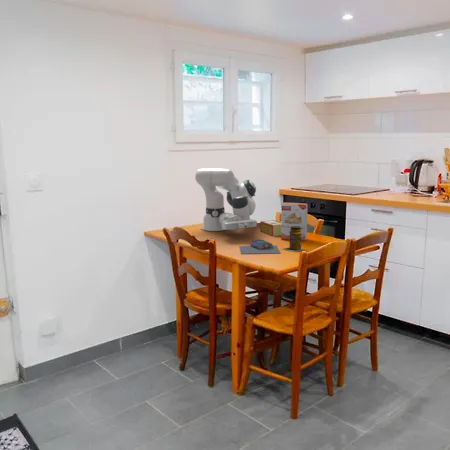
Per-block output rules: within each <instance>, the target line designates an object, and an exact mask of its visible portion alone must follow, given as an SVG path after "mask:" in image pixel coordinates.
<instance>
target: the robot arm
mask: <svg viewBox="0 0 450 450" xmlns="http://www.w3.org/2000/svg"><path fill="white" fill-rule="evenodd" d="M195 181H196V183H197V184H198V185H199V186H201V188H202V190H203V192H204V195H205V202H206V203H205V204H206V205H205V215H204V216H203V220H202V221H203V226H201V227H200V230H202V231H209V232H219V231H220V232H221V231H227V230H228V231H229V230H230V231H239V230H241V229H248V228H255V227H257V226H258V221H257V220H256V219H252V218H251V216H252V215H253V214H254V213H255V210H256V201H255V200H254V199H253V197H255V196H256V191H257V187H256V185H255V183H254V182H253V181H252V180H250V179H246V180H244V181H243V182H242V183H239V179H238V178H237V177H236V176H235V174H234V172H233V170H232V169H228V168H215V167H210V168H209V167H206V168H205V167H204V168H199V169H197V171H196V173H195ZM217 188H219V189H221V190H224V191H226V201H227V203H228V205H229V206H230V207H232V213H230V212H225V210H226V209H225V207H224V206H225V205H224V203H225V202H224V201H225V199H224V198H225V197H224V194H223V193H222V192H220V191H219V190H218V189H217Z"/></svg>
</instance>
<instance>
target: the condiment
mask: <svg viewBox="0 0 450 450" xmlns="http://www.w3.org/2000/svg"><path fill="white" fill-rule="evenodd" d="M283 250H285V251H289V252H297V251H298V252H299V251H303V250H305V249H304V248H302V241H301V227H299V226H291V231H290V240H289V247H285V248H283Z"/></svg>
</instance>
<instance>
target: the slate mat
mask: <svg viewBox="0 0 450 450" xmlns="http://www.w3.org/2000/svg"><path fill="white" fill-rule="evenodd" d="M239 251H240V254H241V255H261V254H262V255H266V254H269V255H271V254H273V255H275V254H278V255H279V254H282V253H281V251H280V249H279V247H278V246H277V244H276V245H275V244H273V247H272V248H262V249H258V248H256V247H253V246H251V245H239Z"/></svg>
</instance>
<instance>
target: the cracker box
mask: <svg viewBox="0 0 450 450" xmlns="http://www.w3.org/2000/svg"><path fill="white" fill-rule="evenodd" d="M308 205H309V204H308V203H304V202H303V203H301V202H300V203H299V202H283V203H281V216H280V217H281V218H280V219H281V235H280V239H281V240H283V241H284V240H287V241H290V231H291V226H299V227H301V242H305V241H307V239H308V207H309V206H308Z"/></svg>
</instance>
